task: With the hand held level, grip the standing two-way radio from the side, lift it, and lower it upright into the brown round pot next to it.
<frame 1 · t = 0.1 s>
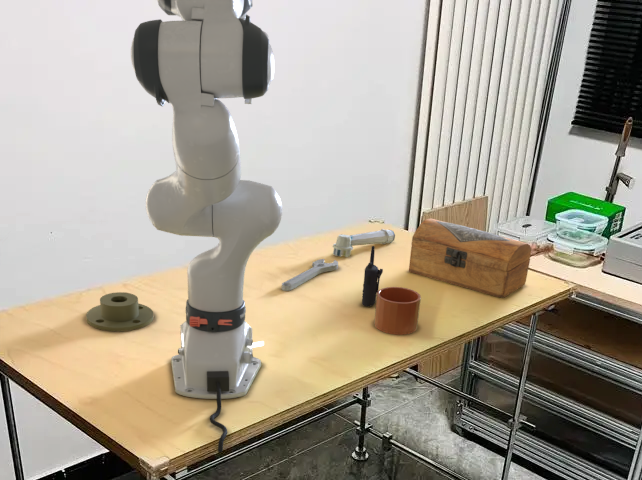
hand: (226, 102, 174), 48 cm above the table, tool pointing down, fingers open, 8 cm apart
adjustable wrench: (307, 277, 220), on the table
two-way radio: (370, 304, 206), on the table
wooden box: (465, 279, 228), on the table
toothbrush head: (363, 250, 244), on the table
brown round pot: (395, 325, 195), on the table
flange: (120, 318, 188), on the table
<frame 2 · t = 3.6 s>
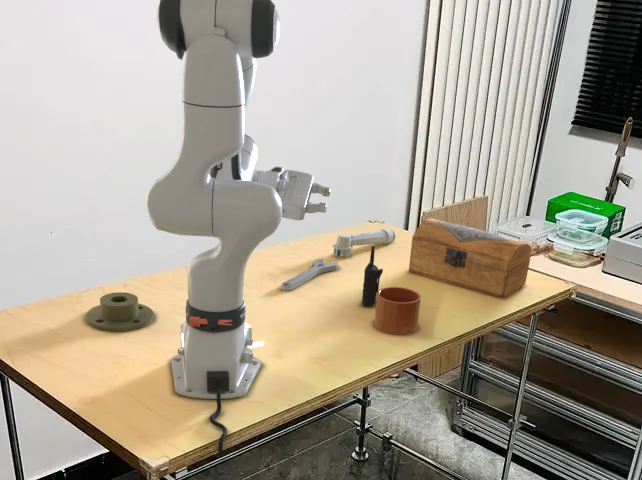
hand: (328, 200, 191), 26 cm above the table, tool horizontal, fingers open, 8 cm apart
nothing on the table moved.
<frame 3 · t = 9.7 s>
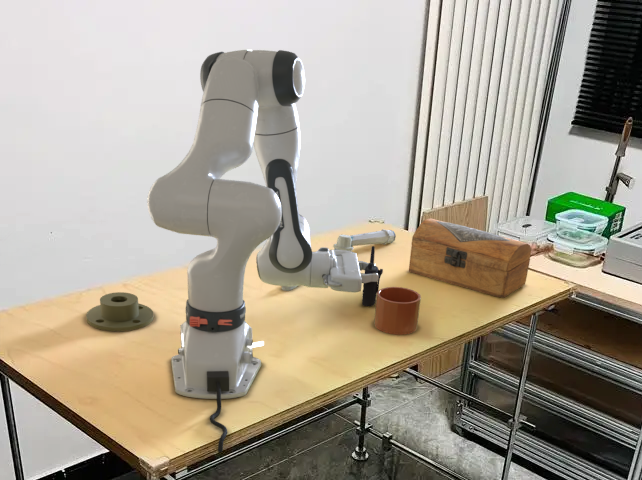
hand: (377, 272, 202), 9 cm above the table, tool horizontal, fingers closed on two-way radio, 5 cm apart
two-way radio: (370, 304, 206), on the table, touching gripper
everything else where it was.
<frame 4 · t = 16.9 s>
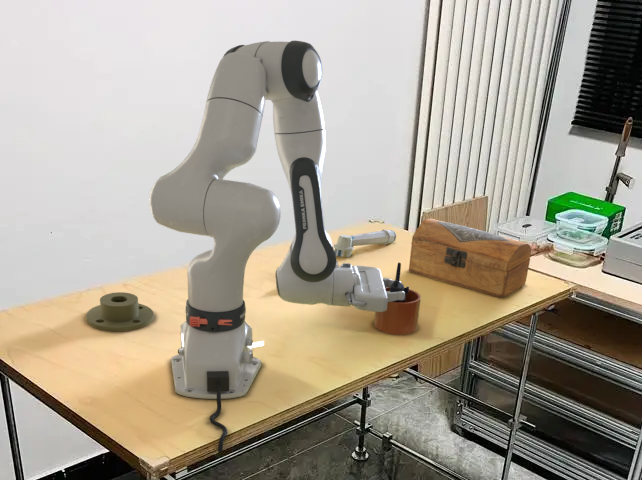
hand: (402, 290, 191), 9 cm above the table, tool horizontal, fingers closed on two-way radio, 5 cm apart
two-way radio: (395, 324, 195), point 1 cm above the table, touching gripper
everything else where it was.
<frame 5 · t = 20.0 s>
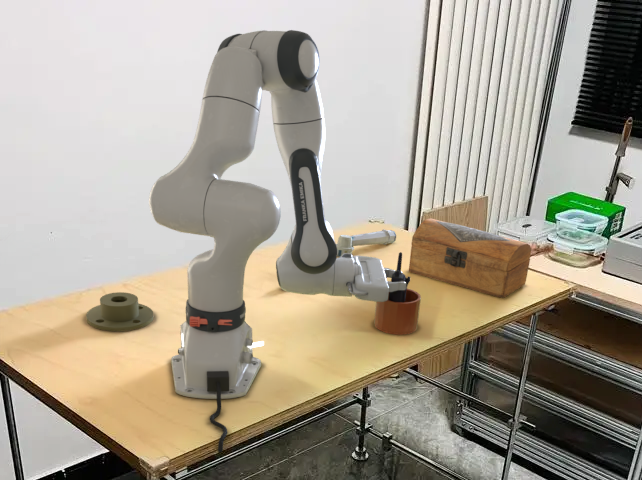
hand: (404, 280, 190), 12 cm above the table, tool horizontal, fingers closed on two-way radio, 5 cm apart
two-way radio: (396, 314, 194), point 3 cm above the table, touching gripper
everything else where it was.
when the fingers open (12 cm above the table, at t = 30.7 s): two-way radio drops 2 cm, resting on brown round pot.
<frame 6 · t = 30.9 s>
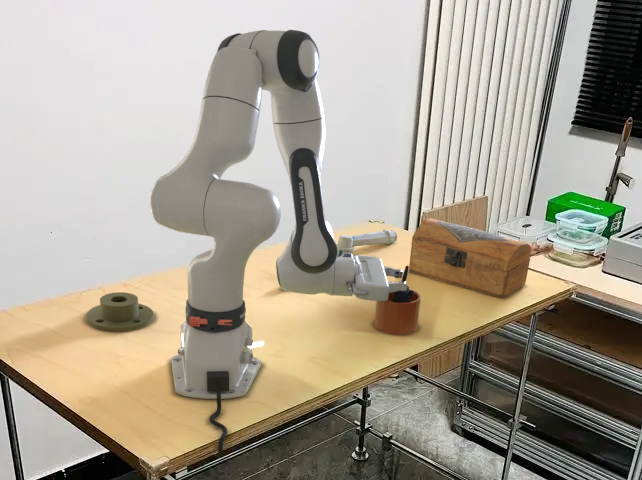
hand: (404, 279, 189), 12 cm above the table, tool horizontal, fingers open, 7 cm apart
two-way radio: (396, 324, 194), point 1 cm above the table, touching gripper, brown round pot
everything else where it was.
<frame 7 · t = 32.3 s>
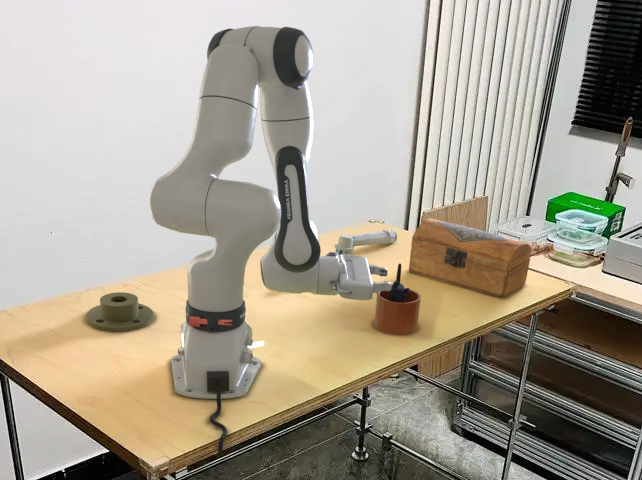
hand: (389, 279, 189), 12 cm above the table, tool horizontal, fingers open, 8 cm apart
two-way radio: (395, 325, 195), resting on brown round pot
everything else where it was.
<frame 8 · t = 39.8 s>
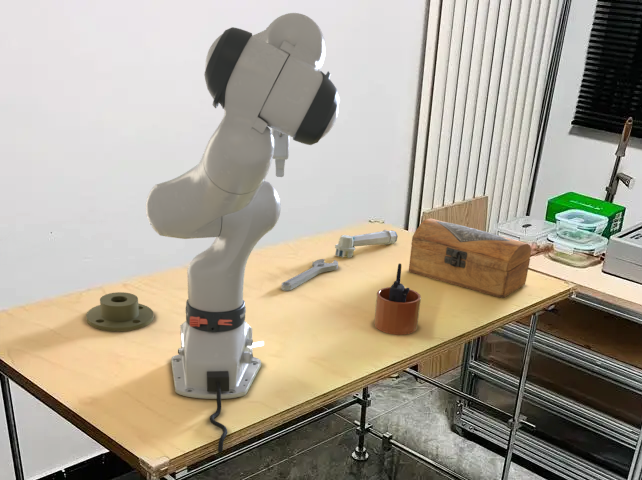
hand: (280, 171, 181), 34 cm above the table, tool pointing down, fingers open, 8 cm apart
nothing on the table moved.
at the end: two-way radio 0.5 cm off-centre in the brown round pot, point 0.3 cm above the brown round pot's base; two-way radio tilted 0°; the gripper is holding nothing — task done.
